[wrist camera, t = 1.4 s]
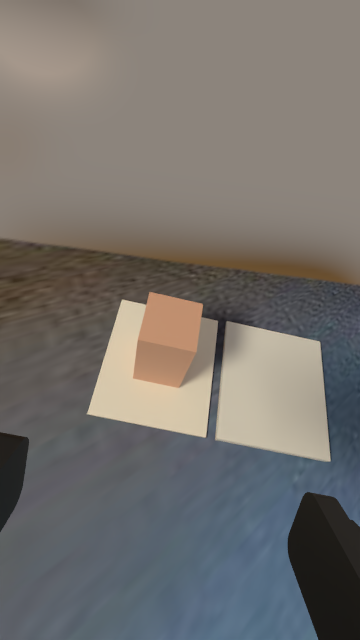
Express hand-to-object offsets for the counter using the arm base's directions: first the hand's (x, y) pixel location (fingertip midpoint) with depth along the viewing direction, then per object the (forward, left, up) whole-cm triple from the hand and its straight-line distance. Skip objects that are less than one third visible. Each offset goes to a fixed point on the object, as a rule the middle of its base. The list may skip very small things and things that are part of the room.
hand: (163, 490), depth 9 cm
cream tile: (0, -14, -23) cm, 27 cm away
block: (0, -14, -23) cm, 27 cm away
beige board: (-13, -14, -23) cm, 30 cm away
